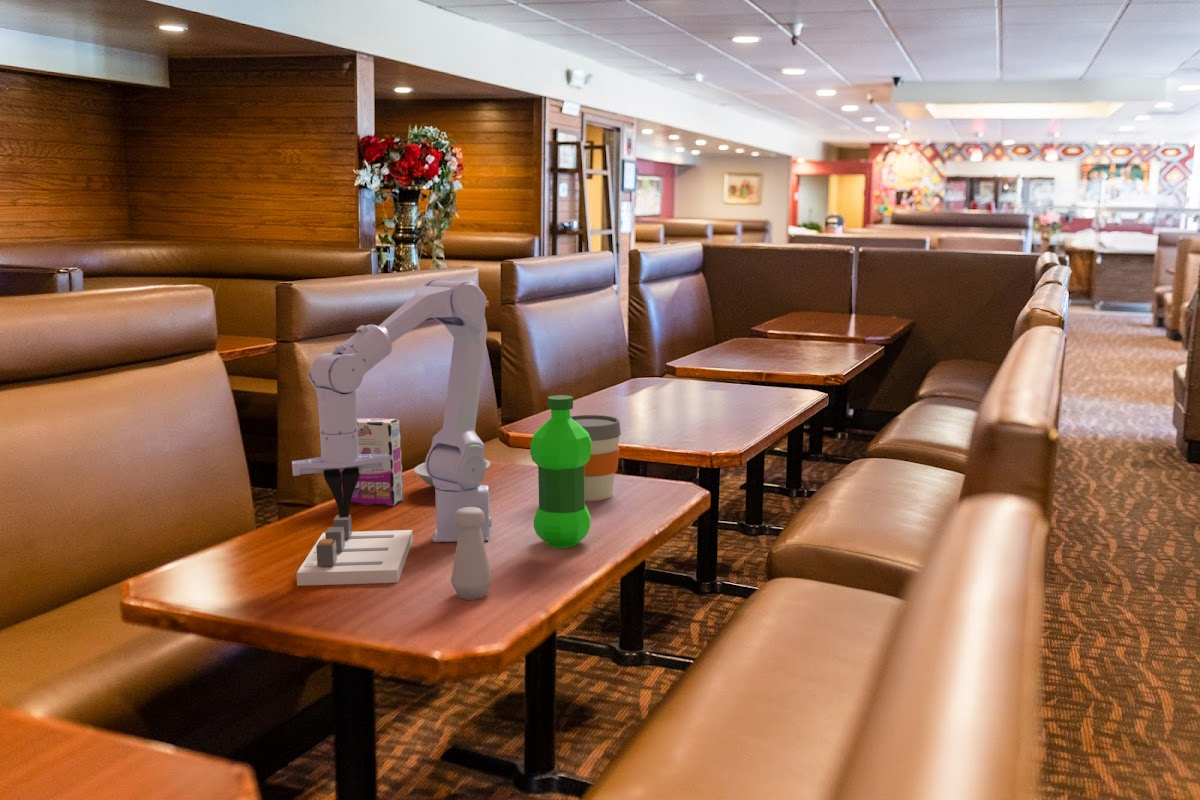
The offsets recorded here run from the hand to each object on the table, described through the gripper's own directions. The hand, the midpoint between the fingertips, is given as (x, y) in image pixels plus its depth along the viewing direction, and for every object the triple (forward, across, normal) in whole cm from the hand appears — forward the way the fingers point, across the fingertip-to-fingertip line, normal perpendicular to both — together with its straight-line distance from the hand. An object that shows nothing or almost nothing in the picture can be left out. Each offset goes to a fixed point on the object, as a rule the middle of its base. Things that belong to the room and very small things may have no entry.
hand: (343, 515), depth 168 cm
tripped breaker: (+6, +3, +4) cm, 8 cm away
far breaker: (+6, 0, -10) cm, 12 cm away
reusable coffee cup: (+9, -49, -30) cm, 58 cm away
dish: (+9, -24, -43) cm, 50 cm away
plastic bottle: (+9, -36, -1) cm, 37 cm away
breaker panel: (+8, -2, -2) cm, 9 cm away
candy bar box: (+9, -8, -39) cm, 41 cm away
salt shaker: (+9, -17, +19) cm, 27 cm away
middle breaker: (+6, +1, -3) cm, 7 cm away
